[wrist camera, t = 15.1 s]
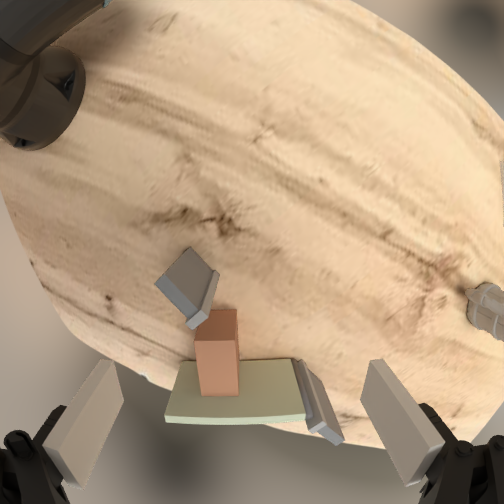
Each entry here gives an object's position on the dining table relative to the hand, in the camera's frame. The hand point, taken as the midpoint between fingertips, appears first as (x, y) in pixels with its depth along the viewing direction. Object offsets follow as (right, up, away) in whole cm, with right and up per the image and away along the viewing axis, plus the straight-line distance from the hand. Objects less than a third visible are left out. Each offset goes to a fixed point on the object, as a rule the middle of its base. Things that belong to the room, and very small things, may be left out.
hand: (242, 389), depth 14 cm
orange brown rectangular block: (-3, -4, +23) cm, 23 cm away
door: (-1, -8, +23) cm, 25 cm away
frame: (+1, -2, +22) cm, 23 cm away
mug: (+36, -1, +23) cm, 43 cm away
